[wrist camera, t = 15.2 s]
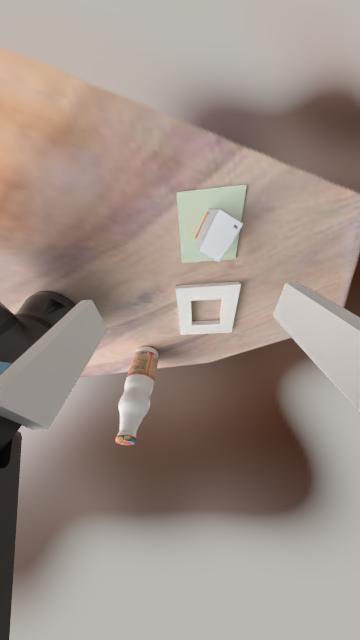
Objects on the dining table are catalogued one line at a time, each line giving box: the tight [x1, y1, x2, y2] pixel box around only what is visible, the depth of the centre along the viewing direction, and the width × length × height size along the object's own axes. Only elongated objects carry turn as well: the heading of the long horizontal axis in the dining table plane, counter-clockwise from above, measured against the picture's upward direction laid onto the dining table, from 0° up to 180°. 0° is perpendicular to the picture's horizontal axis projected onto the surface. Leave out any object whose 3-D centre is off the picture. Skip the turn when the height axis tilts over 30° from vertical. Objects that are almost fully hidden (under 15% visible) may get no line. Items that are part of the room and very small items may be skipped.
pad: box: [176, 184, 247, 263], centre depth 30 cm, size 13×13×1 cm
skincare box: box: [194, 209, 244, 263], centre depth 25 cm, size 6×4×12 cm
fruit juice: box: [116, 346, 158, 445], centre depth 46 cm, size 9×9×28 cm
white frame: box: [176, 281, 241, 335], centre depth 43 cm, size 17×17×2 cm
